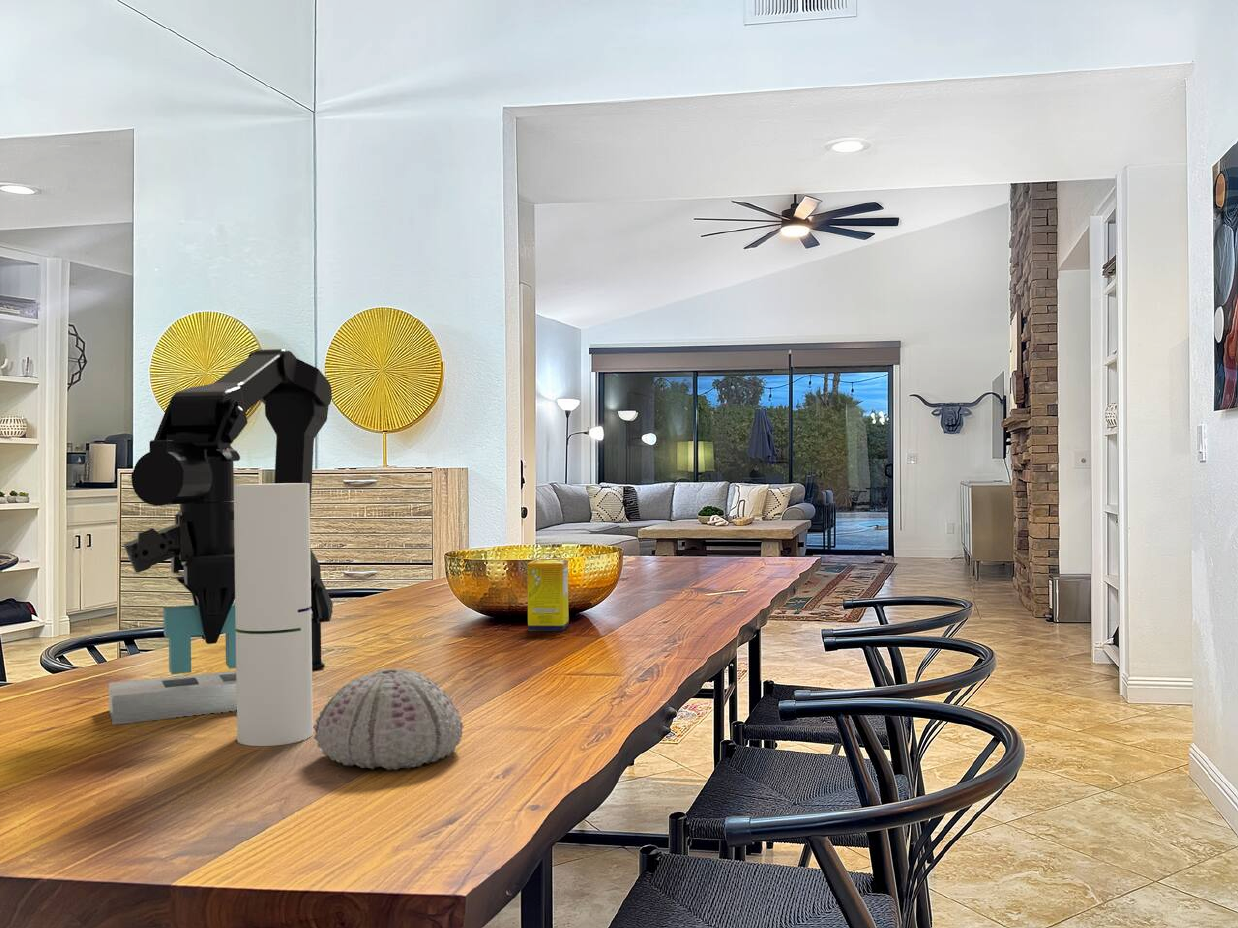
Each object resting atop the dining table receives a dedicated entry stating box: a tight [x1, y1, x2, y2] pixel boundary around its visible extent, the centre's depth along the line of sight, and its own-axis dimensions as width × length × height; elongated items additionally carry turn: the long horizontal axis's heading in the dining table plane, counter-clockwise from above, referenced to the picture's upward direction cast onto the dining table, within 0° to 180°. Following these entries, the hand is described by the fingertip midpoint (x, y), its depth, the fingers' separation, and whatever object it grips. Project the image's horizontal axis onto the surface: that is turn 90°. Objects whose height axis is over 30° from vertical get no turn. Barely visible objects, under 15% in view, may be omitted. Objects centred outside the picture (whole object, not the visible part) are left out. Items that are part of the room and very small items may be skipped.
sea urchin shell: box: [313, 668, 465, 771], centre depth 98 cm, size 13×14×8 cm
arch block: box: [162, 601, 237, 675], centre depth 120 cm, size 9×3×7 cm, turn 118°
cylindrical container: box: [233, 483, 314, 747], centre depth 106 cm, size 7×7×25 cm
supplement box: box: [526, 559, 570, 632], centre depth 176 cm, size 6×6×11 cm
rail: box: [108, 670, 237, 726], centre depth 120 cm, size 20×8×3 cm, turn 118°
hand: (209, 641), depth 120 cm, fingers closed on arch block, 3 cm apart
